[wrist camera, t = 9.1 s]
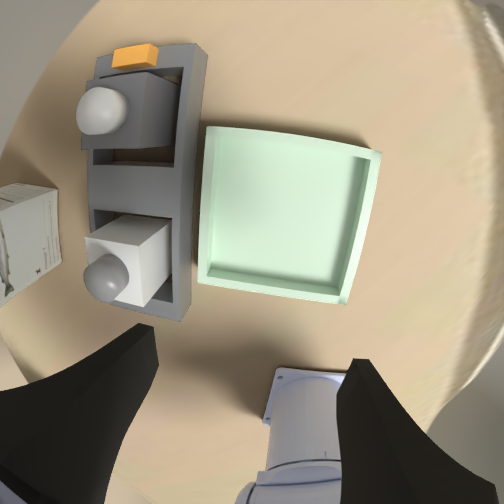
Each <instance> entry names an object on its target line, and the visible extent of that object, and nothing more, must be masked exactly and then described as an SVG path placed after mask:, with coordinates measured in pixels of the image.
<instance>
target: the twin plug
mask: <svg viewBox="0 0 504 504" xmlns="http://www.w3.org/2000/svg"><path fill="white" fill-rule="evenodd" d="M84 238H85V246H86V254H87V261H88V267H87V268H86V269H85V271H84V282H85V285H86V287H87V289H88V291H89V292H90V293H91V295H92V296H93V297H95V298H96V299H97V300H99V301H101V302H106V303H107V302H111V301H113V300H117V301H121V302H125V303H129V304H133V305H137V306H141V307H144V306H145V305H146V304H147V303H148V301H149V300H150V299H151V298H152V296H153V295H154V294H155V293H156V291H157V290H158V289H159V288H160V286H161V285H162V284H163V283H164V282H165V280H166V279H167V278H168V277H169V275H170V274H171V273H172V220H165V219H158V218H149V217H141V216H133V215H123V216H121V217H119V218H117V219H115V220H114V221H112V222H110V223H108V224H106V225H104V226H103V227H101V228H99V229H97V230H96V231H94V232H92V233H90V234H89V235H87V236H85V237H84Z"/></svg>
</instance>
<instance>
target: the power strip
mask: <svg viewBox="0 0 504 504" xmlns="http://www.w3.org/2000/svg"><path fill="white" fill-rule="evenodd" d="M207 58H208V55H207V54H206V53H205V52H204V51H203V50H202V49H201V48H200V47H199V46H198V45H197V44H196V43H195V44H180V45H169V46H160V47H155V46H153V45H152V44H150V43H149V44H142V45H136V46H131V47H125V48H120V49H115V50H114V54H112V55H107V56H103V57H99V58H97V63H96V68H95V75H94V80H96V79H102V78H107V77H113V76H119V75H126V74H134V73H142V72H148V73H151V74H153V75H156V76H158V77H171V76H183V78H182V85H181V93H180V102H179V111H178V121H177V132H176V144H175V159H174V163H164V162H139V161H113V158H114V149H88V166H87V171H88V206H89V221H90V233H92V232H94V231H96V230H97V229H99V228H101V227H103V226H104V225H106V224H108V223H110V222H112V221H114V211H115V212H124V213H133V214H142V215H150V216H158V217H167V218H172V283H168V282H164V283H163V284H162V285H161V286H160V288H159V289H158V290H157V291H156V293H155V294H154V295H153V296H152V298H151V299H150V300H149V301H148V303H147V304H146V305H145V306H144V307H141V306H137V305H133V304H129V303H125V302H121V301H117V300H113V301H111V302H107V304H111V305H114V306H118V307H121V308H125V309H129V310H133V311H137V312H141V313H144V314H149V315H153V316H157V317H161V318H165V319H170V320H174V321H178V322H181V320H182V319H183V317H184V315H185V313H186V312H187V310H188V308H189V306H190V305H191V258H192V225H193V203H194V185H195V170H196V157H197V145H198V134H199V124H200V114H201V105H202V96H203V88H204V80H205V73H206V65H207ZM100 302H101V301H100ZM104 303H106V302H104Z"/></svg>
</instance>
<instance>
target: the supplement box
mask: <svg viewBox="0 0 504 504" xmlns="http://www.w3.org/2000/svg"><path fill="white" fill-rule="evenodd" d="M57 197H58V190H57V189H53V188H47V187H41V186H35V185H29V184H22V183H14V184H10V185H7V186H4V187H1V188H0V307H1V306H3V305H4V304H5V303H7V302H8V301H9V300H10V299H12V298H13V297H14V296H16V295H17V294H18V293H20V292H21V291H22V290H24V289H25V288H26V287H28V286H29V285H31V284H32V283H33V282H35V281H36V280H38V279H39V278H41V277H42V276H43V275H45V274H46V273H48V272H49V271H50V270H52V269H53V268H55V267H57V266H58V265H60V264H61V263H62V259H61V253H60V244H59V234H58V212H57Z"/></svg>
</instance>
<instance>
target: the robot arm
mask: <svg viewBox="0 0 504 504" xmlns="http://www.w3.org/2000/svg"><path fill="white" fill-rule="evenodd" d="M158 366H159V363H158V357H157V350H156V343H155V335H154V327H152V326H148V325H144V324H141V323H138V324H137V325H135V326H133V327H132V328H130V329H129V330H127V331H126V332H125V333H123V334H122V335H120V336H119V337H117V338H116V339H114V340H113V341H111V342H110V343H108V344H107V345H105V346H104V347H102V348H101V349H99V350H98V351H96V352H94V353H93V354H91V355H89V356H88V357H86V358H84V359H83V360H81V361H79V362H77V363H76V364H74V365H72V366H70V367H68V368H66V369H64V370H62V371H60V372H58V373H56V374H54V375H52V376H49V377H47V378H44V379H41V380H39V381H36V382H33V383H30V384H27V385H24V386H21V387H17V388H13V389H9V390H4V391H0V504H104V501H105V496H106V492H107V487H108V484H109V480H110V476H111V473H112V470H113V467H114V464H115V461H116V458H117V455H118V452H119V449H120V447H121V444H122V441H123V439H124V436H125V434H126V432H127V430H128V428H129V426H130V424H131V422H132V421H133V419H134V417H135V415H136V413H137V411H138V409H139V408H140V406H141V404H142V402H143V400H144V398H145V397H146V395H147V393H148V391H149V389H150V387H151V384H152V382H153V379H154V377H155V374H156V371H157V369H158ZM280 376H281V377H280ZM262 424H263V425H266V426H270V435H269V444H268V453H267V461H266V469H265V471H259V472H258V474H257V481H256V482H250V483H248V484H247V485H246V486H245V487H244V488H243V489H242V490H241V491H240V493H239V494H238V496H237V498H236V501H235V504H499V501H498V496H497V492H496V488H495V485H494V484H492V483H491V482H489V481H487V480H485V479H483V478H481V477H479V476H477V475H475V474H473V473H472V472H471V471H469V470H468V469H466V468H465V467H463V466H461V465H460V464H459V463H457V462H456V461H455V460H454V459H452V458H451V457H450V456H449V455H447V454H446V453H445V452H444V451H443V450H442V449H440V448H439V447H438V446H437V445H436V444H435V443H434V442H433V441H432V440H431V439H430V438H429V437H428V436H427V435H426V434H425V433H424V432H423V431H422V430H421V428H420V427H419V426H418V425H417V424H416V423H415V421H414V420H413V419H412V418H411V417H410V415H409V414H408V413H407V412H406V410H405V409H404V408H403V407H402V405H401V404H400V403H399V401H398V400H397V399H396V397H395V396H394V394H393V393H392V392H391V390H390V389H389V387H388V386H387V385H386V383H385V382H384V380H383V379H382V377H381V376H380V375H379V373H378V372H377V370H376V369H375V367H374V366H373V365H372V363H371V362H370V360H369V359H354V358H353V360H352V363H351V365H350V367H349V369H348V371H347V373H331V372H319V371H309V370H299V369H291V368H282V367H280V368H278V369H276V372H275V376H274V379H273V383H272V387H271V391H270V395H269V399H268V402H267V406H266V410H265V413H264V417H263V421H262Z"/></svg>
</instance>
